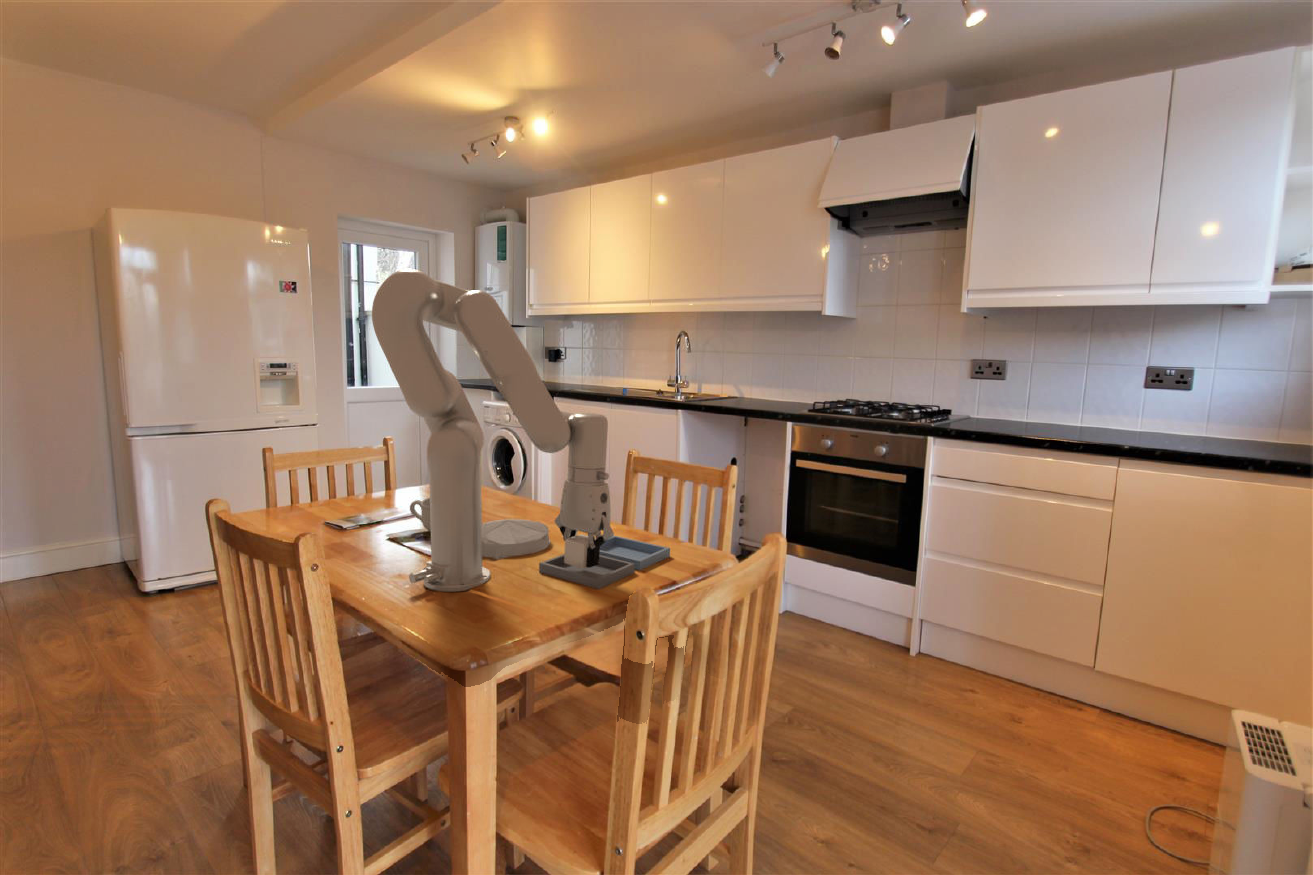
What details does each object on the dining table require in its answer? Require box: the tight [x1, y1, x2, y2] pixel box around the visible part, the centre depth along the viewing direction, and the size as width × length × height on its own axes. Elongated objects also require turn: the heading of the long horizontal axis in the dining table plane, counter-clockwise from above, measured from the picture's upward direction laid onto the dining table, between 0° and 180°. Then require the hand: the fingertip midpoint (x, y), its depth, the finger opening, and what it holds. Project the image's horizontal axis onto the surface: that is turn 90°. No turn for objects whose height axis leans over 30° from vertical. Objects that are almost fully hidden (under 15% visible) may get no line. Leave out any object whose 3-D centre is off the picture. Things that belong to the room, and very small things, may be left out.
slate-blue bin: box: [599, 535, 671, 571], centre depth 140 cm, size 12×16×2 cm
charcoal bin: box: [538, 553, 636, 590], centre depth 129 cm, size 12×16×2 cm
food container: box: [482, 518, 552, 561], centre depth 147 cm, size 20×20×7 cm
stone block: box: [564, 534, 596, 569], centre depth 128 cm, size 5×5×5 cm
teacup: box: [409, 497, 431, 533], centre depth 158 cm, size 14×11×8 cm
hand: (581, 561), depth 129 cm, fingers closed on stone block, 5 cm apart
